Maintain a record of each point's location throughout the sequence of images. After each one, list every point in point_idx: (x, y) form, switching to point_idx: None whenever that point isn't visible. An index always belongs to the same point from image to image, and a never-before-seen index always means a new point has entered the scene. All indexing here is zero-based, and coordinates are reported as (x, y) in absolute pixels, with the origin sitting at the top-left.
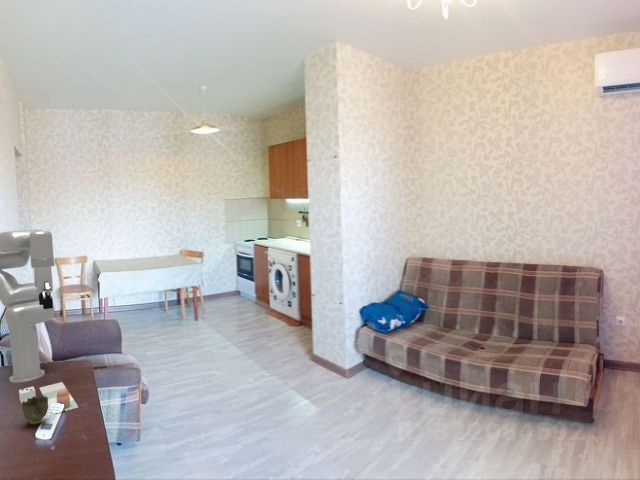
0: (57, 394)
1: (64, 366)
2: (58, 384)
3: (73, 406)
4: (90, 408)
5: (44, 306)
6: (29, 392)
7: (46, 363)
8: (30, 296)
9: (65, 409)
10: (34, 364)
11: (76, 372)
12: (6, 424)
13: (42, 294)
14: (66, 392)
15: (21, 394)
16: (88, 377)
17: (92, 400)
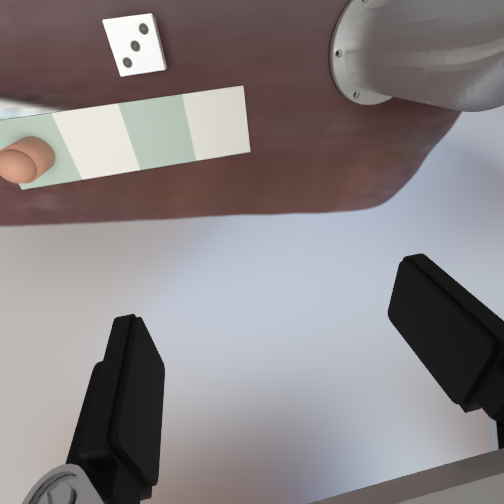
0: (2, 152)
1: (382, 158)
2: (236, 141)
3: None
4: (9, 214)
5: (114, 348)
6: (114, 55)
7: None
8: None
9: None
10: (368, 78)
11: (308, 186)
12: None
13: (494, 381)
14: (6, 179)
15: (103, 23)
16: (247, 213)
17: (67, 219)
